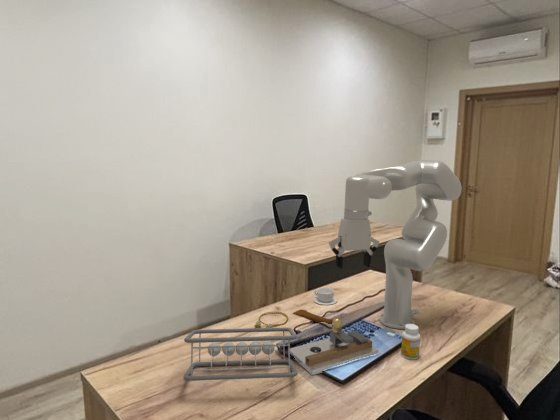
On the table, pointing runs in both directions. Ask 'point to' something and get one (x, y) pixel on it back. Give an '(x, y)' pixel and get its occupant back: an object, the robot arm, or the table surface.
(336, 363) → the bolt plate
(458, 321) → the table surface
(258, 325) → the extension cord
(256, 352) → the newton's cradle
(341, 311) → the table surface
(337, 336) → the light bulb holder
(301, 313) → the primitive tool
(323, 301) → the teacup
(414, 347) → the supplement bottle
